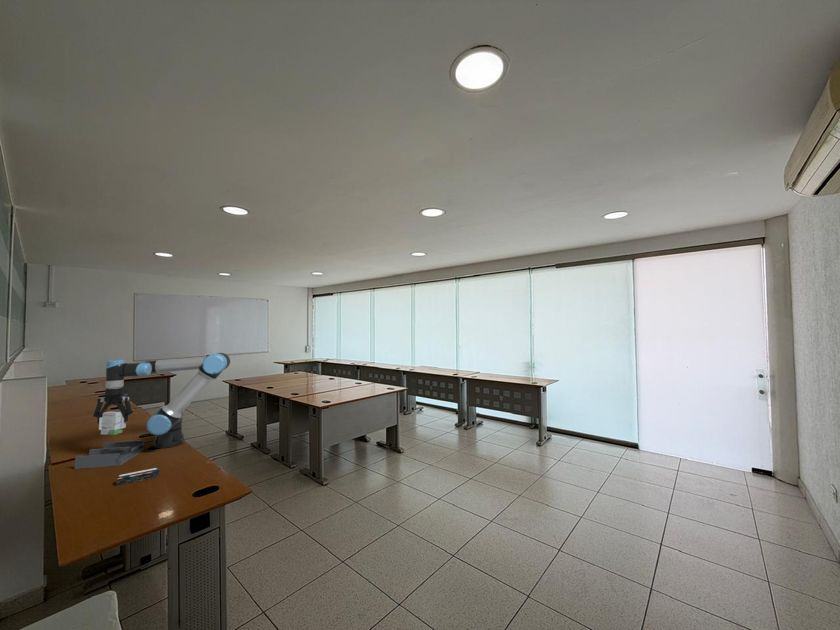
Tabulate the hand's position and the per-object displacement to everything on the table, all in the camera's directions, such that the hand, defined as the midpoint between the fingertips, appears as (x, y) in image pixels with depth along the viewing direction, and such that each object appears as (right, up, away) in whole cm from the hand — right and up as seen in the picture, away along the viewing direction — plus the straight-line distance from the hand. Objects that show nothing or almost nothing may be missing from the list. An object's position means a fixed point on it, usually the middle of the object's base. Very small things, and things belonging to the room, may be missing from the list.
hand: (112, 428), depth 183 cm
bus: (+37, -15, -30) cm, 50 cm away
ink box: (0, -3, 0) cm, 3 cm away
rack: (+4, -15, -5) cm, 16 cm away
